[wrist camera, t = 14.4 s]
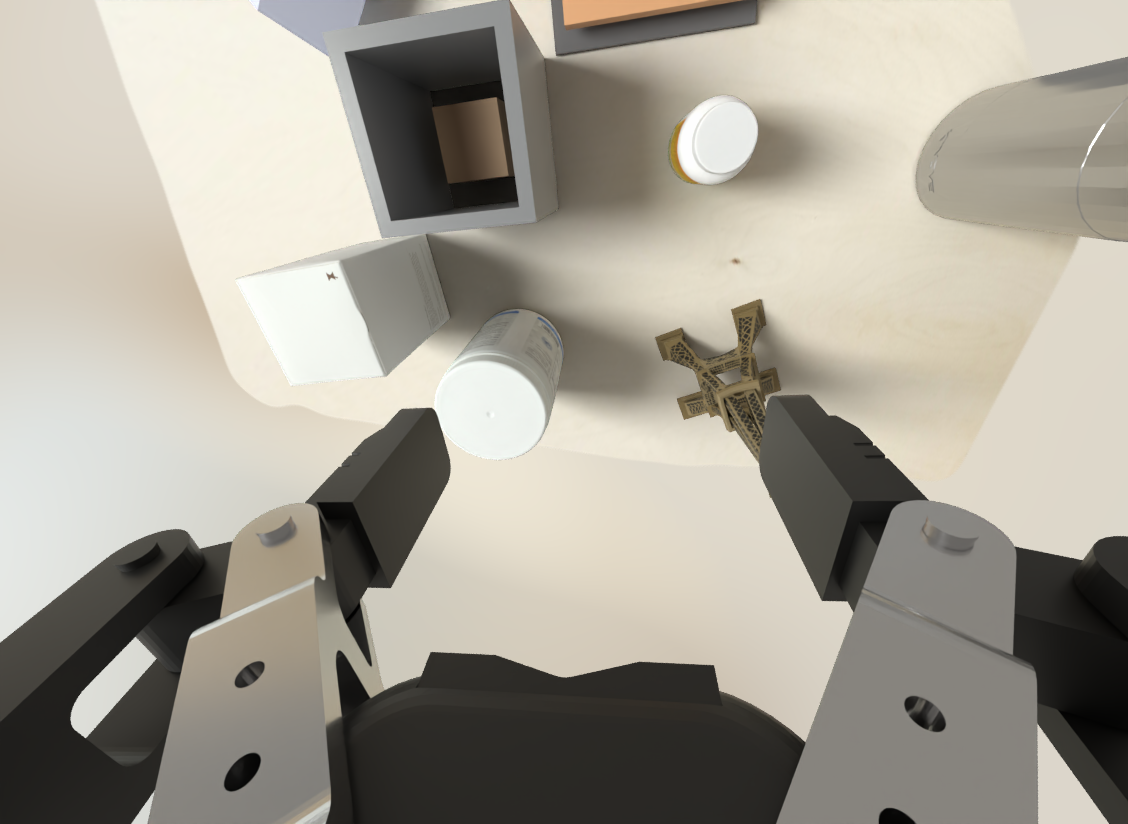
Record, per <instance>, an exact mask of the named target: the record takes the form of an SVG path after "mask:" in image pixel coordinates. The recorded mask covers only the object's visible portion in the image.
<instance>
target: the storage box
mask: <svg viewBox="0 0 1128 824" xmlns="http://www.w3.org/2000/svg"><path fill="white" fill-rule="evenodd" d="M322 34H323V37H324V41H325V44H326V48H327V51H328V54H329V58H330V61H331V65H332V68H333V72H334V75H335V78H336V82H337V85H338V89H339V92H340V96H341V99H342V103H343V106H344V109H345V113H346V116H347V120H348V123H349V127H350V130H351V134H352V137H353V140H354V144H355V147H356V151H357V154H358V158H359V161H360V164H361V168H362V171H363V175H364V178H365V182H366V185H367V189H368V192H369V195H370V199H371V202H372V206H373V209H374V213H375V216H376V220H377V223H378V226H379V230H380V233H381V237H382V238H390V237H400V236H410V235H419V234H429V233H439V232H448V231H458V230H467V229H477V228H487V227H496V226H506V225H516V224H525V223H535V222H538V221H539V220H541V219H543V218H544V217H546V216H548V215H549V214H551V213H553V212H554V211H556V210H558V209H559V205H558V195H557V184H556V174H555V164H554V154H553V143H552V133H551V123H550V113H549V102H548V92H547V82H546V71H545V61H544V57H543V55H542V53H541V52H540V50H539V48H538V47H537V45H536V43H535V41H534V40H533V38H532V36H531V35H530V33H529V31H528V30H527V28H526V26H525V25H524V23H523V21H522V20H521V18H520V16H519V15H518V13H517V11H516V10H515V8H514V6H513V5H512V3H511V1H510V0H497V1H492V2H486V3H481V4H475V5H470V6H464V7H459V8H453V9H448V10H442V11H437V12H431V13H426V14H420V15H415V16H409V17H404V18H399V19H393V20H388V21H382V22H377V23H371V24H366V25H360V26H355V27H349V28H344V29H338V30H333V31H327V32H322ZM499 80H502V86H503V94H504V101H505V108H506V115H507V122H508V130H509V137H510V144H511V151H512V159H513V166H514V173H515V180H516V187H517V195H518V201H515V202H506V203H497V204H488V205H480V206H471V207H462V208H454V205H453V200H452V196H451V191H450V186H449V184H448V181H447V176H446V172H445V167H444V163H443V158H442V153H441V149H440V144H439V139H438V135H437V130H436V125H435V121H434V116H433V111H432V107H433V104H432V99H431V94H430V91H435V90H441V89H448V88H454V87H461V86H467V85H473V84H480V83H486V82H493V81H499Z"/></svg>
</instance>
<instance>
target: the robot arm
mask: <svg viewBox="0 0 1128 824" xmlns="http://www.w3.org/2000/svg"><path fill="white" fill-rule="evenodd" d="M916 189H917V192H918V195H919V198H920V200H921V202H922V203H923V205H924V206H925V208H927V209H928V210H929V211H930V212H932V213H933V214H935V215H937V216H940V217H943V218H948V219H955V220H963V221H970V222H977V223H983V224H990V225H998V226H1006V227H1013V228H1021V229H1029V230H1036V231H1044V232H1052V233H1059V234H1067V235H1075V236H1082V237H1090V238H1098V239H1105V240H1114V241H1123V242H1128V57H1125V58H1121V59H1116V60H1112V61H1107V62H1103V63H1099V64H1094V65H1090V66H1085V67H1081V68H1077V69H1072V70H1068V71H1064V72H1059V73H1055V74H1051V75H1045V76H1041V77H1036V78H1032V79H1028V80H1023V81H1019V82H1015V83H1010V84H1006V85H1002V86H998V87H995V88H992V89H989V90H985V91H983V92H981V93H979V94H977V95H975V96H973V97H971V98H969V99H967V100H966V101H965V102H963V103H962V104H961V105H959V106H958V107H957V108H955V109H954V110H953V111H952V112H951V113H950V114H949V115H948V116H947V117H946V118H945V119H944V120H943V121H942V122H941V123H940V124H939V125H938V127H937V128H936V129H935V131H934V132H933V133H932V135H931V136H930V138H929V140H928V141H927V143H926V145H925V147H924V149H923V151H922V154H921V156H920V159H919V162H918V166H917V172H916ZM759 466H760V473H761V476H762V479H763V481H764V483H765V486H766V488H767V490H768V492H769V494H770V496H771V498H772V500H773V502H774V504H775V506H776V508H777V510H778V512H779V514H780V516H781V518H782V520H783V522H784V524H785V526H786V528H787V530H788V533H789V535H790V536H791V539H792V541H793V543H794V545H795V547H796V549H797V551H798V553H799V555H800V557H801V559H802V561H803V563H804V565H805V567H806V569H807V571H808V573H809V575H810V577H811V579H812V581H813V583H814V586H815V588H816V590H817V592H818V594H819V596H820V598H821V600H822V601H848V603H849V605H850V607H851V609H852V610H853V612H854V613H853V616H852V619H851V621H850V624H849V627H848V629H847V632H846V635H845V638H844V640H843V643H842V646H841V648H840V651H839V654H838V656H837V659H836V662H835V664H834V667H833V670H832V673H831V675H830V678H829V681H828V684H827V686H826V689H825V692H824V694H823V697H822V700H821V703H820V705H819V708H818V711H817V713H816V716H815V719H814V721H813V724H812V727H811V729H810V732H809V735H808V737H807V740H806V742H804V741H803V740H802V739H801V738H800V737H799V736H797V735H796V734H795V733H794V732H793V731H792V730H790V729H789V728H788V727H786V726H785V725H783V724H782V723H781V722H779V721H778V720H776V719H775V718H774V717H772V716H771V715H769V714H767V713H766V712H764V711H762V710H761V709H759V708H757V707H755V706H753V705H752V704H750V703H748V702H746V701H743V700H741V699H739V698H737V697H735V696H732V695H730V694H727V693H724V692H721V691H719V688H718V683H717V678H716V673H715V668H714V665H695V664H674V663H652V662H637V663H632V664H628V665H623V666H619V667H614V668H610V669H605V670H601V671H596V672H592V673H587V674H583V675H578V676H574V677H567V678H563V677H558V676H554V675H552V674H548V673H546V672H543V671H540V670H537V669H534V668H531V667H528V666H525V665H523V664H520V663H517V662H514V661H511V660H508V659H505V658H502V657H499V656H496V655H482V654H461V653H460V654H459V653H438V652H431V653H430V655H429V658H428V660H427V663H426V666H425V668H424V671H423V673H422V676H421V677H416V678H413V679H410V680H408V681H405V682H402V683H399V684H397V685H395V686H393V687H391V688H388V689H387V690H384V687H383V684H382V681H381V677H380V672H379V667H378V663H377V658H376V653H375V648H374V644H373V639H372V634H371V629H370V624H369V620H368V615H367V610H366V606H365V604H364V602H363V600H362V596H363V595H364V593H365V591H366V590H367V588H368V587H369V588H370V587H371V588H391V587H392V585H393V583H394V581H395V579H396V577H397V576H398V574H399V572H400V570H401V568H402V566H403V564H404V563H405V561H406V559H407V557H408V555H409V553H410V551H411V550H412V548H413V546H414V544H415V542H416V540H417V539H418V537H419V535H420V533H421V531H422V529H423V527H424V526H425V524H426V522H427V520H428V518H429V516H430V514H431V513H432V511H433V509H434V507H435V505H436V503H437V501H438V500H439V498H440V496H441V494H442V492H443V490H444V488H445V487H446V485H447V483H448V480H449V476H450V459H449V454H448V451H447V447H446V444H445V440H444V437H443V433H442V429H441V426H440V422H439V419H438V416H437V413H436V412H435V410H434V409H432V408H414V409H401V410H400V411H399V412H398V413H397V414H396V415H395V416H394V417H393V418H392V419H391V421H390V422H389V423H388V424H387V425H386V426H385V427H384V428H383V429H381V430H379V431H378V432H376V433H374V434H373V435H371V436H370V437H368V438H367V439H365V440H364V441H363V442H362V443H361V444H360V445H359V446H358V447H357V448H356V449H355V451H354V452H352V456H349V457H348V458H347V459H346V460H345V461H344V462H343V463H342V467H338V468H337V469H336V470H335V471H334V473H333V474H332V475H331V476H330V477H329V478H328V479H327V480H326V481H325V482H324V483H323V484H322V485H321V486H320V487H319V488H318V489H317V491H316V492H315V493H314V494H313V495H312V496H311V497H310V498H309V499H308V500H307V501H306V502H305V503H295V504H289V505H285V506H282V507H279V508H276V509H273V510H271V511H269V512H267V513H265V514H263V515H261V516H259V517H258V518H256V519H255V520H253V521H252V522H250V523H249V524H248V525H246V526H245V527H244V528H243V529H242V530H241V531H240V532H239V533H238V534H237V536H236V537H235V539H234V540H233V541H232V542H227V543H223V544H219V545H215V546H210V547H206V548H201V549H199V548H198V546H197V545H196V543H195V542H194V541H193V539H192V538H191V536H190V535H189V534H188V533H187V532H186V531H184V530H179V529H173V530H166V531H161V532H158V533H154V534H152V535H149V536H146V537H144V538H141V539H139V540H136V541H134V542H132V543H130V544H128V545H127V546H125V547H123V548H121V549H120V550H118V551H117V552H115V553H113V554H112V555H110V556H109V557H108V558H106V559H105V560H104V561H103V562H101V563H100V564H99V565H97V566H96V567H95V568H94V569H92V570H91V571H90V572H89V573H87V574H86V575H85V576H84V577H82V578H81V579H80V580H79V581H77V582H76V583H75V584H73V585H72V586H71V587H70V588H68V589H67V590H66V591H65V592H63V593H62V594H61V595H60V596H58V597H57V598H56V599H55V600H53V601H52V602H51V603H50V604H48V605H47V606H46V607H45V608H43V609H42V610H41V611H40V612H38V613H37V614H36V615H34V616H33V617H32V618H31V619H29V620H28V621H27V622H26V623H24V624H23V625H22V626H21V627H19V628H18V629H17V630H16V631H14V632H13V633H12V634H11V635H9V636H8V637H7V638H6V639H4V640H3V641H2V642H1V643H0V824H131V823H132V822H133V820H134V819H135V817H136V816H137V815H138V813H139V812H140V810H141V809H142V807H143V806H144V805H145V803H146V802H147V800H148V799H149V798H150V796H151V794H152V793H153V792H154V790H155V792H154V797H153V801H152V806H151V810H150V815H149V819H148V824H1038V764H1037V763H1038V760H1037V759H1038V756H1037V723H1038V725H1039V726H1040V728H1041V729H1042V730H1043V732H1044V733H1045V734H1046V736H1047V737H1048V739H1049V740H1050V742H1051V743H1052V744H1053V746H1054V747H1055V749H1056V750H1057V751H1058V753H1059V754H1060V756H1061V757H1062V758H1063V760H1064V761H1065V762H1066V764H1067V765H1068V767H1069V768H1070V770H1071V771H1072V772H1073V774H1074V775H1075V777H1076V778H1077V779H1078V781H1079V782H1080V784H1081V785H1082V786H1083V788H1084V789H1085V790H1086V792H1087V793H1088V795H1089V796H1090V797H1091V799H1092V800H1093V802H1094V803H1095V804H1096V806H1097V807H1098V809H1099V810H1100V811H1101V813H1102V814H1103V816H1104V817H1105V818H1106V819H1107V821H1108V823H1109V824H1128V537H1126V536H1113V537H1106V538H1103V539H1100V540H1099V541H1097V542H1096V543H1095V544H1094V546H1093V547H1092V548H1091V550H1090V551H1089V553H1088V554H1087V556H1086V557H1085V558H1084V559H1083V560H1078V559H1074V558H1069V557H1063V556H1059V555H1054V554H1049V553H1043V552H1039V551H1034V550H1029V549H1023V548H1019V547H1014V545H1013V543H1012V542H1011V541H1010V539H1009V538H1008V537H1007V536H1006V535H1005V534H1004V533H1003V532H1002V531H1001V530H1000V529H998V528H997V527H996V526H995V525H993V524H992V523H990V522H988V521H987V520H985V519H983V518H981V517H980V516H978V515H976V514H974V513H971V512H969V511H967V510H964V509H961V508H958V507H956V506H952V505H949V504H945V503H940V502H935V501H929V500H928V499H927V498H926V497H925V496H924V495H923V494H922V493H921V492H920V491H919V490H918V489H917V488H916V487H915V486H914V485H913V483H912V482H911V481H910V480H909V479H908V478H907V477H906V476H905V475H904V474H903V473H902V472H901V471H900V470H899V469H898V468H897V467H896V466H895V465H894V464H893V463H892V462H891V461H890V460H889V459H888V458H887V459H885V455H884V454H883V453H882V452H881V451H880V450H879V448H878V447H877V446H873V442H872V441H871V440H870V439H869V438H868V437H867V436H866V435H865V434H864V433H863V432H862V431H861V430H860V429H859V428H858V427H856V426H854V425H852V424H851V423H849V422H847V421H845V420H843V419H841V418H839V417H838V416H828V415H827V414H826V412H825V411H824V410H823V409H822V408H821V407H820V406H819V405H818V404H817V402H816V401H815V400H814V399H813V398H812V397H811V396H810V395H785V396H771V397H770V399H769V401H768V403H767V408H766V414H765V421H764V427H763V433H762V440H761V446H760V453H759ZM134 637H136V638H137V639H139V641H140V642H141V643H142V644H143V645H144V646H145V647H146V648H147V649H148V650H149V651H150V652H151V653H152V654H153V655H154V656H155V657H156V658H157V659H156V660H155V662H153V664H152V665H151V666H150V667H149V668H148V669H147V670H146V671H145V673H144V674H143V675H142V676H141V677H140V678H139V679H138V681H137V682H136V683H135V684H134V685H133V686H132V687H131V689H129V691H128V692H127V693H126V694H125V695H124V696H123V697H122V698H121V700H120V701H119V702H118V703H117V704H116V705H115V706H114V707H113V709H112V710H111V711H110V712H109V713H108V714H107V715H106V716H105V718H104V719H103V720H102V721H101V722H100V723H99V724H98V725H97V727H96V728H95V729H94V730H93V731H92V732H91V734H89V736H88V737H87V738H84V737H83V736H81V734H79V733H78V732H77V731H75V730H74V729H73V727H72V725H71V721H70V717H71V711H72V708H73V705H74V703H75V701H76V700H77V698H78V696H79V695H80V694H81V692H82V691H83V690H84V689H85V688H86V687H87V686H88V685H89V684H90V682H91V681H92V680H93V679H94V678H95V677H96V676H97V675H98V674H99V673H100V672H101V671H102V670H103V669H104V668H105V667H106V666H107V665H108V664H109V663H110V662H111V661H112V660H113V659H114V658H115V657H116V656H117V655H118V654H119V653H120V652H121V651H122V650H123V649H124V648H125V647H126V646H127V645H128V644H129V642H131V641H132V640H133V638H134Z"/></svg>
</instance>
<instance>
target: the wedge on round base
mask: <svg viewBox="0 0 1128 824" xmlns="http://www.w3.org/2000/svg"><path fill="white" fill-rule="evenodd" d="M249 1H250V2H251V4H252V5H253V6H254V7H255V8H256V9H257V10H258V11H259V12H261V13H262V14H264V15H265V16H267V17H268V18H270V19H272V20H273V21H275V22H276V23H278V24H279V25H281V26H282V27H284V28H285V29H287V30H288V31H290V32H292V33H293V34H295V35H296V36H298V37H299V38H301V39H302V40H304V41H305V42H307V43H309V44H310V45H312V46H313V47H315V48H316V49H318V50H319V51H321V52H322V53H324V54H326V55H327V56H329V54H328V51H327V48H326V44H325V41H324V37H323V34H322V32H327V31H333V30H338V29H344V28H349V27H355V26H358V24H359V21H360V18H361V15H362V11H363V8H364V5H365V1H366V0H249Z"/></svg>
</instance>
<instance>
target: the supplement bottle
mask: <svg viewBox="0 0 1128 824" xmlns="http://www.w3.org/2000/svg"><path fill="white" fill-rule="evenodd" d="M757 138H758V123H757V120H756V117H755V115H754V113H753V112H752V110H751V109H750V107H749V106H748V105H747V104H746V103H745V102H744V101H742V100H741V99H739V98H737V97H734V96H730V95H720V96H715V97H712V98H709V99H707V100H705V101H703V102H702V103H700V104H699V105H698V106H696V107H695V108H694V109H693V110H692V111H690V112H689V113H688V114H687V115H686V116H685V117H684V118H682V119H681V121H680V122H679V123H678V124H677V126H676V127H675V129H674V131H673V133H672V135H671V138H670V141H669V147H668V157H669V162H670V165H671V167H672V169H673V171H674V173H675V174H676V175H677V176H678V177H679V178H680V179H682V180H684V181H686V182H688V183H693V184H704V185H713V184H719V183H723V182H725V181H727V180H729V179H731V178H733V177H734V176H735V175H737V174H738V173H739V172H740V171H741V170H742V169H743V168H744V167H745V166H746V164H747V163H748V161H749V160H750V158H751V156H752V154H753V151H754V149H755V145H756V142H757Z"/></svg>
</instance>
